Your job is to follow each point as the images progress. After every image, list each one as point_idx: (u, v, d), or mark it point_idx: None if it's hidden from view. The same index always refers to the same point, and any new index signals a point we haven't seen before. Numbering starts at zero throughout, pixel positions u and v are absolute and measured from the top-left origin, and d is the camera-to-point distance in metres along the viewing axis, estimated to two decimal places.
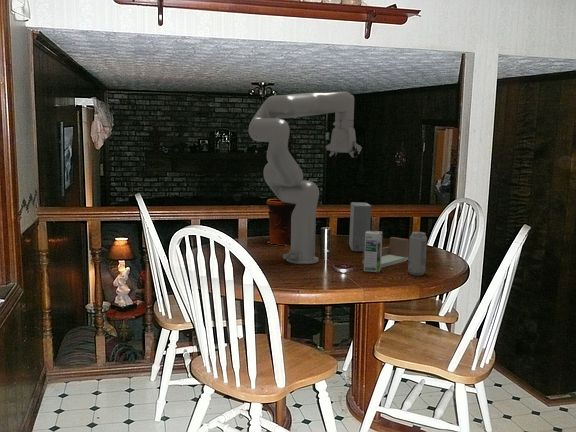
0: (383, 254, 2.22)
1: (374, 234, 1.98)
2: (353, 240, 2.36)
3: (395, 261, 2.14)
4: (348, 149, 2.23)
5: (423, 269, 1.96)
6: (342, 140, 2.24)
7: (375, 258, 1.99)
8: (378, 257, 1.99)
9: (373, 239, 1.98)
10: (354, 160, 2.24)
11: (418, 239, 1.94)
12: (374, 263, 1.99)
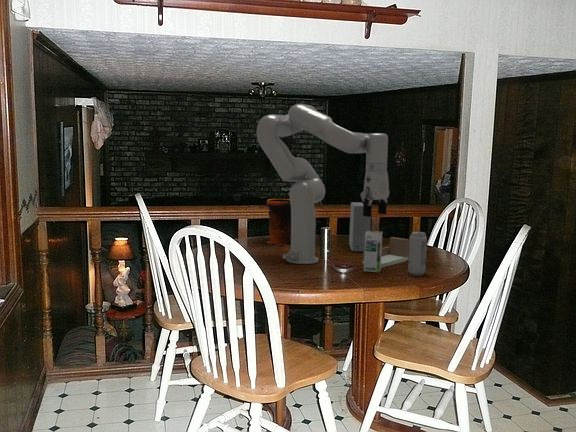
0: (383, 254, 2.22)
1: (374, 234, 1.98)
2: (353, 240, 2.36)
3: (395, 261, 2.14)
4: (388, 195, 2.01)
5: (423, 269, 1.96)
6: (384, 185, 1.98)
7: (375, 258, 1.99)
8: (378, 257, 1.99)
9: (373, 239, 1.98)
10: None
11: (418, 239, 1.94)
12: (374, 263, 1.99)
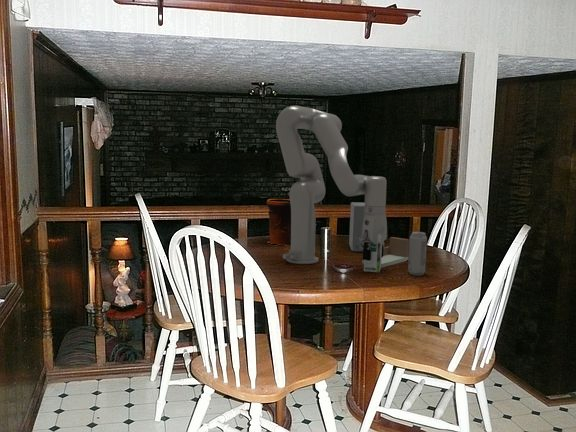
0: (383, 254, 2.22)
1: None
2: (353, 240, 2.36)
3: (395, 261, 2.14)
4: (386, 236, 2.02)
5: (423, 269, 1.96)
6: (382, 227, 2.00)
7: (375, 258, 1.99)
8: (378, 257, 1.99)
9: None
10: None
11: (418, 239, 1.94)
12: (374, 263, 1.99)
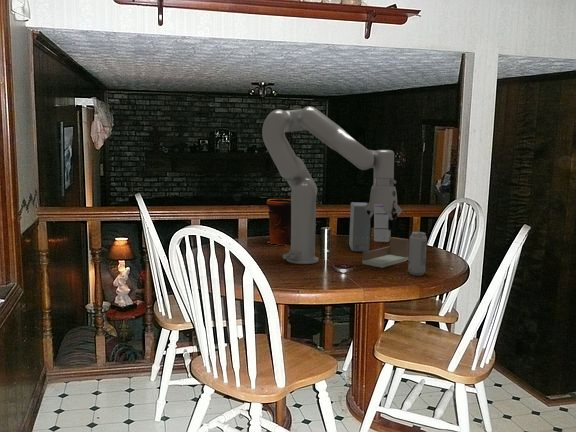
0: (383, 254, 2.22)
1: None
2: (353, 240, 2.36)
3: (395, 261, 2.14)
4: None
5: (423, 269, 1.96)
6: None
7: None
8: None
9: None
10: None
11: (418, 239, 1.94)
12: (390, 231, 2.12)
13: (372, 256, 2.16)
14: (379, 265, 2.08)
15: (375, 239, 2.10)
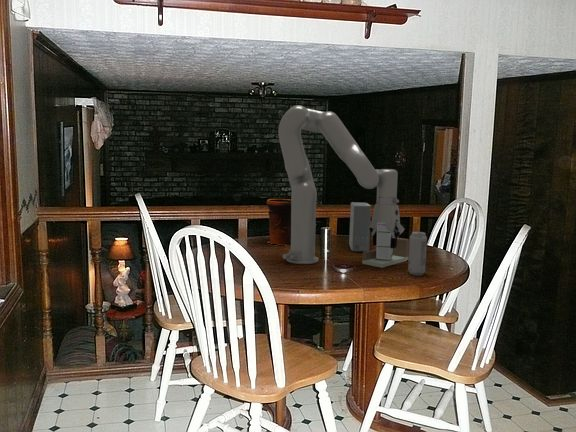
0: None
1: None
2: (353, 240, 2.36)
3: (395, 261, 2.14)
4: None
5: (423, 269, 1.96)
6: None
7: None
8: None
9: None
10: None
11: (418, 239, 1.94)
12: (392, 249, 2.15)
13: (372, 256, 2.16)
14: (379, 265, 2.08)
15: (377, 257, 2.13)
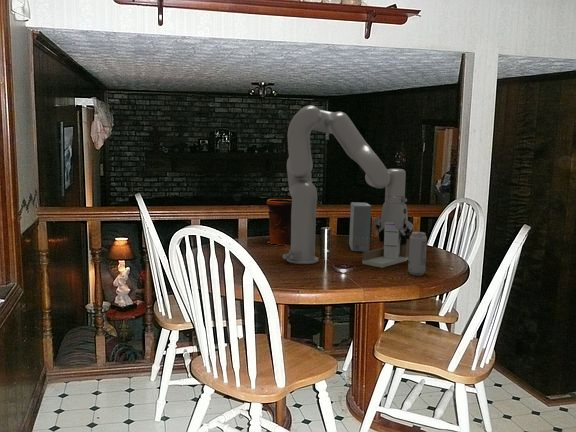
0: (383, 254, 2.22)
1: None
2: (353, 240, 2.36)
3: (395, 261, 2.14)
4: None
5: (423, 269, 1.96)
6: None
7: (399, 244, 2.19)
8: None
9: None
10: None
11: (418, 239, 1.94)
12: (399, 248, 2.19)
13: (372, 256, 2.16)
14: (379, 265, 2.08)
15: (385, 256, 2.18)
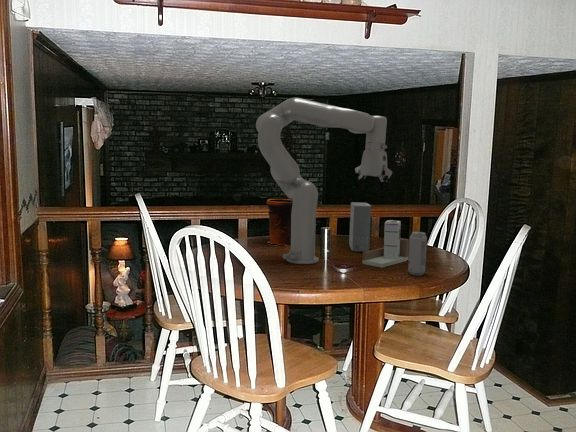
0: (383, 254, 2.22)
1: (400, 222, 2.18)
2: (353, 240, 2.36)
3: (395, 261, 2.14)
4: None
5: (423, 269, 1.96)
6: None
7: (399, 244, 2.19)
8: None
9: (399, 227, 2.18)
10: None
11: (418, 239, 1.94)
12: (399, 248, 2.19)
13: (372, 256, 2.16)
14: (379, 265, 2.08)
15: (385, 256, 2.18)
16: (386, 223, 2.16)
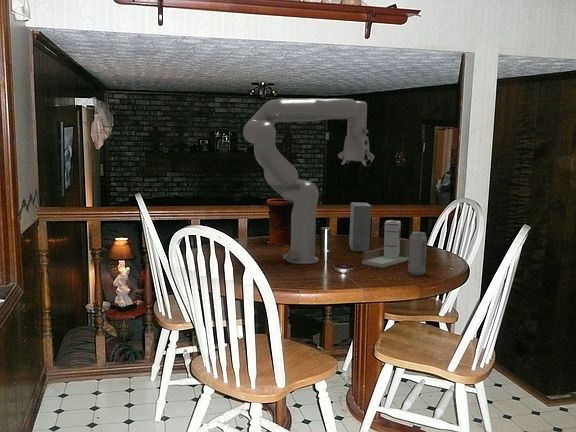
0: (383, 254, 2.22)
1: (400, 222, 2.18)
2: (353, 240, 2.36)
3: (395, 261, 2.14)
4: None
5: (423, 269, 1.96)
6: None
7: (399, 244, 2.19)
8: None
9: (399, 227, 2.18)
10: None
11: (418, 239, 1.94)
12: (399, 248, 2.19)
13: (372, 256, 2.16)
14: (379, 265, 2.08)
15: (385, 256, 2.18)
16: (386, 223, 2.16)
